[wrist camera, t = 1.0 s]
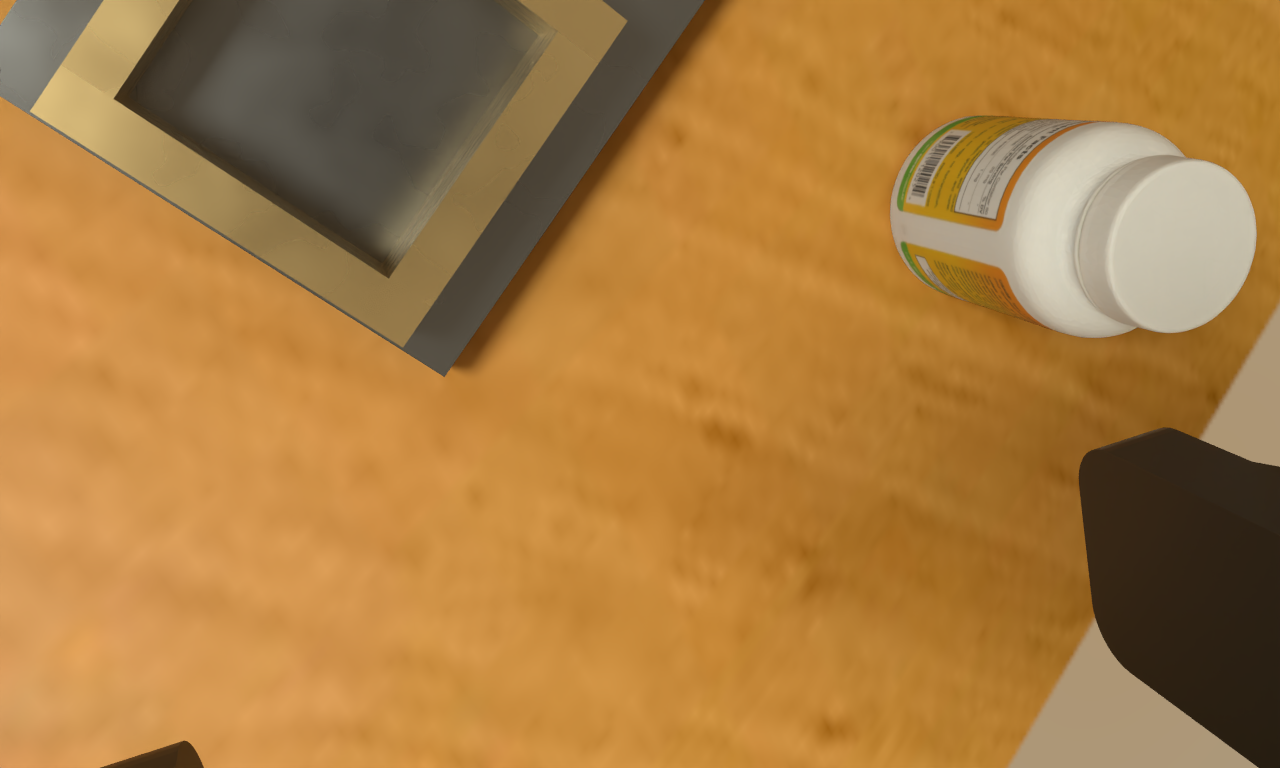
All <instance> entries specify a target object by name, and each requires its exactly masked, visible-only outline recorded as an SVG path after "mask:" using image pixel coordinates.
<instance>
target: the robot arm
mask: <svg viewBox="0 0 1280 768" xmlns="http://www.w3.org/2000/svg"><path fill="white" fill-rule="evenodd" d="M1079 487H1080V496H1081V505H1082V514H1083V523H1084V532H1085V541H1086V550H1087V559H1088V568H1089V577H1090V586H1091V595H1092V604H1093V610H1094V614H1095V618H1096V621H1097V624H1098V627H1099V629H1100V632H1101V634H1102V636H1103V638H1104V640H1105V642H1106V643H1107V646H1108V647H1109V649H1110V650H1111V652H1112V653H1113V655H1114V656H1115V657H1116V659H1117V660H1118V661H1119V662H1120V663H1121V664H1122V666H1123V667H1124V668H1125V669H1127V670H1128V671H1129V672H1130V673H1131V674H1133V675H1134V676H1135V677H1137V678H1138V679H1140V680H1141V681H1142V682H1144V683H1145V684H1146V685H1148V686H1149V687H1150V688H1152V689H1153V690H1154V691H1156V692H1157V693H1158V694H1160V695H1161V696H1163V697H1164V698H1165V699H1167V700H1168V701H1169V702H1171V703H1172V704H1173V705H1175V706H1176V707H1177V708H1179V709H1180V710H1181V711H1183V712H1184V713H1186V714H1187V715H1188V716H1190V717H1191V718H1192V719H1194V720H1195V721H1196V722H1198V723H1199V724H1200V725H1202V726H1203V727H1205V728H1206V729H1207V730H1209V731H1210V732H1211V733H1213V734H1214V735H1215V736H1217V737H1218V738H1219V739H1221V740H1222V741H1223V742H1225V743H1226V744H1227V745H1229V746H1230V747H1232V748H1233V749H1234V750H1236V751H1237V752H1238V753H1240V754H1241V755H1242V756H1244V757H1245V758H1247V759H1248V760H1249V761H1250V762H1252V763H1253V764H1254V765H1256V766H1257V767H1259V768H1280V467H1278V466H1272V465H1266V464H1261V463H1256V462H1251V461H1249V460H1246V459H1244V458H1242V457H1240V456H1237V455H1235V454H1232V453H1230V452H1227V451H1225V450H1223V449H1221V448H1218V447H1216V446H1214V445H1211V444H1209V443H1206V442H1204V441H1202V440H1199V439H1197V438H1195V437H1192V436H1190V435H1188V434H1185V433H1183V432H1180V431H1178V430H1175V429H1172V428H1160V429H1156V430H1153V431H1150V432H1147V433H1144V434H1141V435H1138V436H1135V437H1132V438H1128V439H1125V440H1122V441H1119V442H1116V443H1113V444H1110V445H1107V446H1104V447H1101V448H1097V449H1094V450H1091V451H1090V452H1088V453H1087V454H1086V455H1085V456H1084V458H1083V460H1082V462H1081V465H1080V470H1079ZM101 768H204V767H203V765H202V762H201V760H200V758H199V756H198V754H197V752H196V751H195V749H194V748H193V746H192V745H191V744H190V743H189V742H188V741H182V742H179V743H176V744H172V745H169V746H166V747H163V748H160V749H157V750H154V751H151V752H148V753H145V754H141V755H138V756H135V757H132V758H129V759H126V760H123V761H120V762H117V763H113V764H110V765H107V766H104V767H101Z"/></svg>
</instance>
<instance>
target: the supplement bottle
mask: <svg viewBox="0 0 1280 768" xmlns="http://www.w3.org/2000/svg"><path fill="white" fill-rule="evenodd" d="M890 220H891V229H892V234H893V238H894V241H895V244H896V247H897V250H898V252H899V254H900V256H901V257H902V259H903V261H904V262H905V264H906V265H907V267H908V268H909V269H910V270H911V272H912V273H913V274H914V275H915V276H916V277H917V278H918V279H920V280H921V281H922V282H923V283H925V284H926V285H928V286H930V287H931V288H933V289H935V290H937V291H940V292H942V293H945V294H947V295H950V296H953V297H956V298H959V299H961V300H965V301H968V302H971V303H974V304H977V305H980V306H983V307H986V308H989V309H993V310H996V311H998V312H1001V313H1004V314H1007V315H1010V316H1013V317H1016V318H1019V319H1022V320H1025V321H1028V322H1031V323H1034V324H1037V325H1039V326H1042V327H1045V328H1048V329H1051V330H1054V331H1058V332H1061V333H1065V334H1069V335H1073V336H1078V337H1084V338H1103V337H1110V336H1116V335H1119V334H1123V333H1126V332H1129V331H1131V330H1133V329H1135V328H1137V327H1139V328H1143V329H1147V330H1151V331H1154V332H1161V333H1177V332H1184V331H1187V330H1191V329H1194V328H1197V327H1199V326H1201V325H1203V324H1205V323H1207V322H1208V321H1210V320H1212V319H1213V318H1214V317H1216V316H1217V315H1218V314H1219V313H1220V312H1222V311H1223V310H1224V309H1225V308H1226V307H1227V306H1228V305H1229V304H1230V302H1231V301H1232V300H1233V299H1234V298H1235V296H1236V295H1237V293H1238V292H1239V290H1240V289H1241V287H1242V285H1243V284H1244V282H1245V280H1246V277H1247V275H1248V273H1249V270H1250V267H1251V264H1252V261H1253V257H1254V253H1255V248H1256V236H1257V232H1256V220H1255V214H1254V210H1253V207H1252V204H1251V201H1250V199H1249V196H1248V194H1247V192H1246V190H1245V189H1244V187H1243V186H1242V185H1241V183H1240V182H1239V181H1238V180H1237V179H1236V178H1235V177H1234V176H1233V175H1232V174H1231V173H1230V172H1229V171H1227V170H1226V169H1224V168H1223V167H1221V166H1219V165H1216V164H1214V163H1212V162H1208V161H1204V160H1199V159H1192V158H1186V157H1185V156H1184V154H1183V153H1182V152H1181V151H1180V150H1179V149H1178V148H1177V147H1176V146H1175V145H1174V144H1173V143H1172V142H1170V141H1169V140H1168V139H1166V138H1165V137H1163V136H1162V135H1160V134H1159V133H1157V132H1154V131H1152V130H1150V129H1147V128H1144V127H1141V126H1137V125H1133V124H1128V123H1118V122H1106V121H1078V120H1059V119H1041V118H1021V117H1005V116H969V117H964V118H959V119H956V120H953V121H951V122H948V123H946V124H944V125H942V126H940V127H939V128H937V129H935V130H934V131H932V132H931V133H930V134H929V135H927V136H926V137H925V138H924V139H923V140H922V141H921V142H920V143H919V144H918V145H917V146H916V147H915V148H914V149H913V150H912V152H911V153H910V154H909V156H908V157H907V159H906V160H905V162H904V164H903V166H902V167H901V169H900V172H899V174H898V176H897V179H896V181H895V184H894V188H893V192H892V197H891V205H890Z"/></svg>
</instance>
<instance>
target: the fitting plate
mask: <svg viewBox="0 0 1280 768" xmlns="http://www.w3.org/2000/svg"><path fill="white" fill-rule="evenodd" d="M703 2H704V0H17V1H16V2H15V4H14V5H13V7H12V8H11V10H10V11H9V13H8V14H7V16H6V17H5V19H4V20H3V22H2V23H1V25H0V96H1V97H2V98H4V99H6V100H7V101H9V102H10V103H12V104H13V105H15V106H17V107H18V108H20V109H21V110H23V111H25V112H26V113H28V114H29V115H31V116H32V117H34V118H36V119H37V120H39V121H40V122H42V123H44V124H45V125H47V126H48V127H50V128H51V129H53V130H55V131H56V132H58V133H59V134H61V135H63V136H64V137H66V138H67V139H69V140H70V141H72V142H74V143H75V144H77V145H78V146H80V147H81V148H83V149H85V150H86V151H88V152H89V153H91V154H93V155H94V156H96V157H97V158H99V159H100V160H102V161H104V162H105V163H107V164H108V165H110V166H112V167H113V168H115V169H116V170H118V171H119V172H121V173H123V174H124V175H126V176H127V177H129V178H131V179H132V180H134V181H135V182H137V183H138V184H140V185H142V186H143V187H145V188H146V189H148V190H150V191H151V192H153V193H154V194H156V195H157V196H159V197H161V198H162V199H164V200H165V201H167V202H169V203H170V204H172V205H173V206H175V207H176V208H178V209H180V210H181V211H183V212H184V213H186V214H188V215H189V216H191V217H192V218H194V219H195V220H197V221H199V222H200V223H202V224H203V225H205V226H206V227H208V228H210V229H211V230H213V231H214V232H216V233H218V234H219V235H221V236H222V237H224V238H225V239H227V240H229V241H230V242H232V243H233V244H235V245H237V246H238V247H240V248H241V249H243V250H244V251H246V252H248V253H249V254H251V255H252V256H254V257H256V258H257V259H259V260H260V261H262V262H263V263H265V264H267V265H268V266H270V267H271V268H273V269H275V270H276V271H278V272H279V273H281V274H282V275H284V276H286V277H287V278H289V279H290V280H292V281H294V282H295V283H297V284H298V285H300V286H301V287H303V288H305V289H306V290H308V291H309V292H311V293H313V294H314V295H316V296H317V297H319V298H320V299H322V300H324V301H325V302H327V303H328V304H330V305H331V306H333V307H335V308H336V309H338V310H339V311H341V312H343V313H344V314H346V315H347V316H349V317H350V318H352V319H354V320H355V321H357V322H358V323H360V324H362V325H363V326H365V327H366V328H368V329H369V330H371V331H373V332H374V333H376V334H377V335H379V336H381V337H382V338H384V339H385V340H387V341H388V342H390V343H392V344H393V345H395V346H396V347H398V348H400V349H401V350H403V351H404V352H406V353H407V354H409V355H411V356H412V357H414V358H415V359H417V360H419V361H420V362H422V363H423V364H425V365H426V366H428V367H430V368H431V369H433V370H434V371H436V372H438V373H439V374H441V375H442V376H444V377H445V375H446V374H447V372H448V371H449V370H450V368H451V367H452V365H453V364H454V362H455V361H456V359H457V358H458V357H459V355H460V354H461V352H462V351H463V349H464V348H465V346H466V345H467V344H468V342H469V341H470V339H471V338H472V336H473V335H474V333H475V332H476V331H477V329H478V328H479V326H480V325H481V323H482V322H483V320H484V319H485V317H486V316H487V315H488V313H489V312H490V310H491V309H492V307H493V306H494V304H495V303H496V302H497V300H498V299H499V297H500V296H501V294H502V293H503V291H504V290H505V289H506V287H507V286H508V284H509V283H510V281H511V280H512V278H513V277H514V276H515V274H516V273H517V271H518V270H519V268H520V267H521V265H522V264H523V262H524V261H525V260H526V258H527V257H528V255H529V254H530V252H531V251H532V249H533V248H534V247H535V245H536V244H537V242H538V241H539V239H540V238H541V236H542V235H543V234H544V232H545V231H546V229H547V228H548V226H549V225H550V223H551V222H552V221H553V219H554V218H555V216H556V215H557V213H558V212H559V210H560V209H561V207H562V206H563V205H564V203H565V202H566V200H567V199H568V197H569V196H570V194H571V193H572V192H573V190H574V189H575V187H576V186H577V184H578V183H579V181H580V180H581V179H582V177H583V176H584V174H585V173H586V171H587V170H588V168H589V167H590V165H591V164H592V163H593V161H594V160H595V158H596V157H597V155H598V154H599V152H600V151H601V150H602V148H603V147H604V145H605V144H606V142H607V141H608V139H609V138H610V137H611V135H612V134H613V132H614V131H615V129H616V128H617V126H618V125H619V124H620V122H621V121H622V119H623V118H624V116H625V115H626V113H627V112H628V110H629V109H630V108H631V106H632V105H633V103H634V102H635V100H636V99H637V97H638V96H639V95H640V93H641V92H642V90H643V89H644V87H645V86H646V84H647V83H648V82H649V80H650V79H651V77H652V76H653V74H654V73H655V71H656V70H657V69H658V67H659V66H660V64H661V63H662V61H663V60H664V58H665V57H666V55H667V54H668V53H669V51H670V50H671V48H672V47H673V45H674V44H675V42H676V41H677V40H678V38H679V37H680V35H681V34H682V32H683V31H684V29H685V28H686V27H687V25H688V24H689V22H690V21H691V19H692V18H693V16H694V15H695V14H696V12H697V11H698V9H699V8H700V6H701V5H702V3H703Z"/></svg>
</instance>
